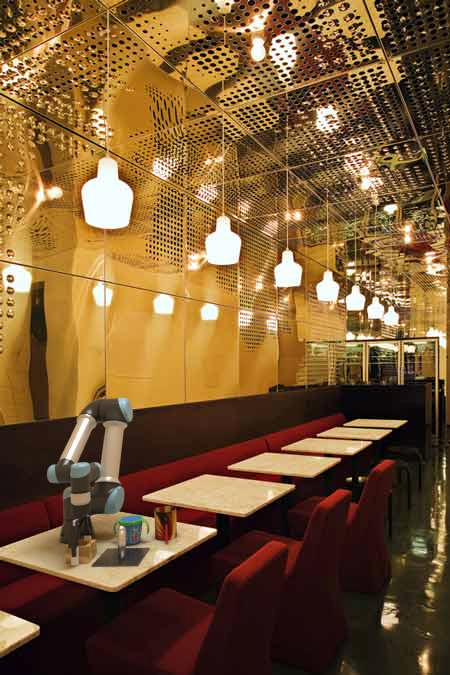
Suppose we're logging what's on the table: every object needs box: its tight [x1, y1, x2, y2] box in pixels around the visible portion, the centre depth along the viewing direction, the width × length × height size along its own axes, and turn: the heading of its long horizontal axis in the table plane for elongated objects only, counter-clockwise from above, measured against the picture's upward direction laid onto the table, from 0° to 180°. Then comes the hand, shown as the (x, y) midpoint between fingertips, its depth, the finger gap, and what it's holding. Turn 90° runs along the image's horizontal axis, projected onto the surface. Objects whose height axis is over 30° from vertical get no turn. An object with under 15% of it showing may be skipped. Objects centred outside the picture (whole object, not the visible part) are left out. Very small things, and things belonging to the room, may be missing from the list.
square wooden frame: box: [65, 538, 98, 565], centre depth 186 cm, size 9×9×6 cm
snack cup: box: [112, 514, 150, 546], centre depth 203 cm, size 16×10×10 cm
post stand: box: [91, 525, 151, 568], centre depth 186 cm, size 18×18×12 cm
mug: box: [153, 505, 178, 543], centre depth 206 cm, size 10×14×12 cm
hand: (81, 558), depth 186 cm, fingers open, 12 cm apart
